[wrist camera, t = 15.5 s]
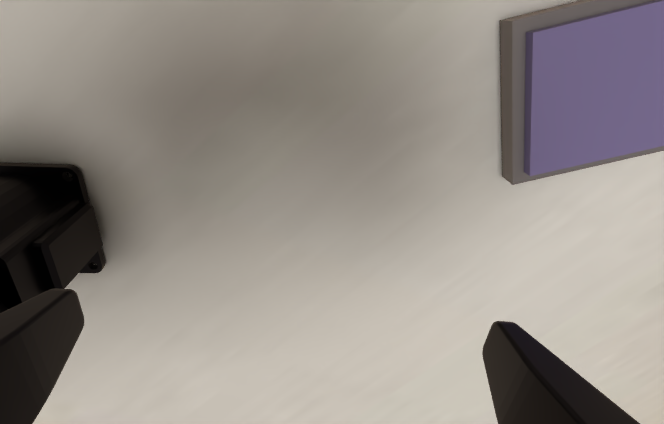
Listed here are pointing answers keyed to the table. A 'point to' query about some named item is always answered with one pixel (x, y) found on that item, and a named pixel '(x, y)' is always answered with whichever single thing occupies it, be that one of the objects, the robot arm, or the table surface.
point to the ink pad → (581, 86)
